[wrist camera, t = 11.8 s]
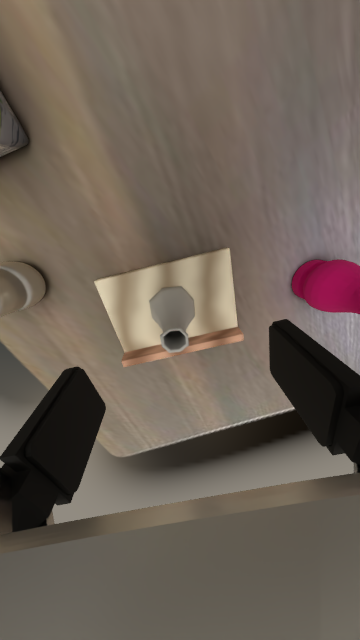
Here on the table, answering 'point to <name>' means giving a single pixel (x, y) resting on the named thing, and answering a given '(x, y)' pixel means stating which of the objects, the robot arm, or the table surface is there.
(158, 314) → the flask
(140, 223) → the table surface
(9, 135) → the juice carton
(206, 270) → the shelf board
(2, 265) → the plastic bottle
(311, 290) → the pepper mill
